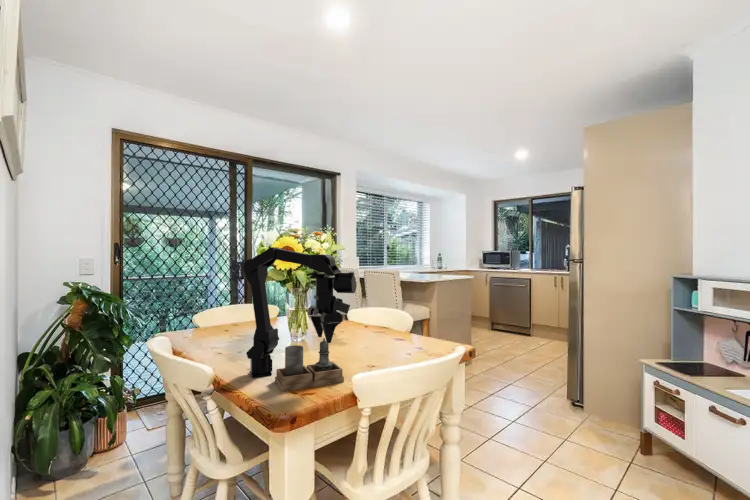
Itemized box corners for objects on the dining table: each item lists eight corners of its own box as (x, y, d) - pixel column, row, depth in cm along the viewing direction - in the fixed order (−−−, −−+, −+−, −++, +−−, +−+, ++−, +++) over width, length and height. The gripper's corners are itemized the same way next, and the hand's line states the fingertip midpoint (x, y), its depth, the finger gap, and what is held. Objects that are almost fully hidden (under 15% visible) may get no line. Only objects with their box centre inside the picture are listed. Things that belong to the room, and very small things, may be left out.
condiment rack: (281, 391, 113) (281, 353, 113) (274, 381, 122) (275, 345, 122) (344, 381, 121) (344, 346, 122) (333, 372, 130) (333, 339, 131)
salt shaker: (335, 376, 122) (335, 339, 122) (317, 378, 120) (317, 340, 120) (329, 370, 128) (330, 335, 128) (313, 373, 125) (313, 337, 125)
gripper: (358, 294, 119) (358, 343, 119) (337, 289, 136) (337, 332, 136) (324, 296, 114) (324, 347, 114) (307, 290, 131) (307, 335, 131)
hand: (324, 340), depth 124 cm, fingers open, 9 cm apart
